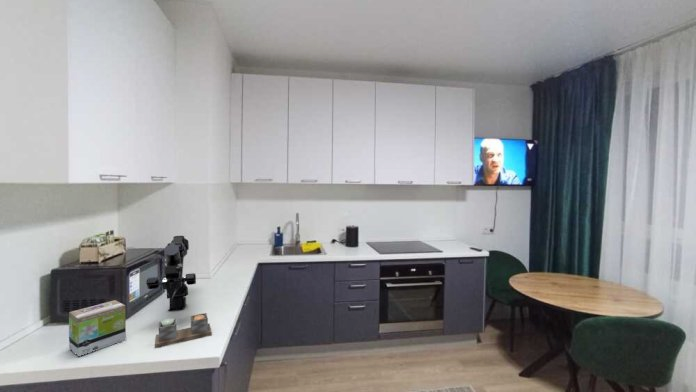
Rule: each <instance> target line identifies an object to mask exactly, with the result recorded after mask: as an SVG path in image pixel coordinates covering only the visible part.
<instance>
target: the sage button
mask: <svg viewBox="0 0 696 392" xmlns="http://www.w3.org/2000/svg"><path fill="white" fill-rule="evenodd" d="M174 319H175V318H173V317H167V318H164V319H162V320H161V321H160V322H161V323H162V327H165V326H170V325H174Z"/></svg>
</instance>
